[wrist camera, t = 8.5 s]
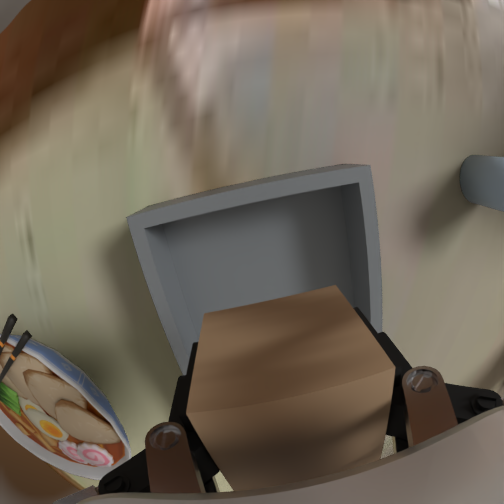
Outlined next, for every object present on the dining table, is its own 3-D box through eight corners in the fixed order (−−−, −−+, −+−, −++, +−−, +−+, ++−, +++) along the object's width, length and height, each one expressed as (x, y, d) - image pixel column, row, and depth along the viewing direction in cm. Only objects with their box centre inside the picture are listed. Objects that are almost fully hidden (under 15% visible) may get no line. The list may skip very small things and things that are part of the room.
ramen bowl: (90, 455, 33) (76, 492, 25) (-18, 356, 27) (-46, 386, 19) (193, 405, 29) (184, 463, 21) (36, 252, 23) (-16, 283, 15)
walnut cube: (335, 284, 11) (395, 367, 6) (342, 380, 12) (378, 465, 7) (204, 313, 11) (185, 413, 6) (235, 403, 12) (237, 495, 8)
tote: (361, 376, 29) (377, 406, 24) (218, 407, 29) (215, 441, 24) (344, 163, 22) (370, 165, 17) (148, 205, 23) (126, 217, 18)
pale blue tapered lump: (490, 200, 23) (536, 213, 17) (461, 206, 24) (509, 221, 17) (487, 153, 22) (534, 158, 15) (457, 156, 22) (507, 160, 15)
